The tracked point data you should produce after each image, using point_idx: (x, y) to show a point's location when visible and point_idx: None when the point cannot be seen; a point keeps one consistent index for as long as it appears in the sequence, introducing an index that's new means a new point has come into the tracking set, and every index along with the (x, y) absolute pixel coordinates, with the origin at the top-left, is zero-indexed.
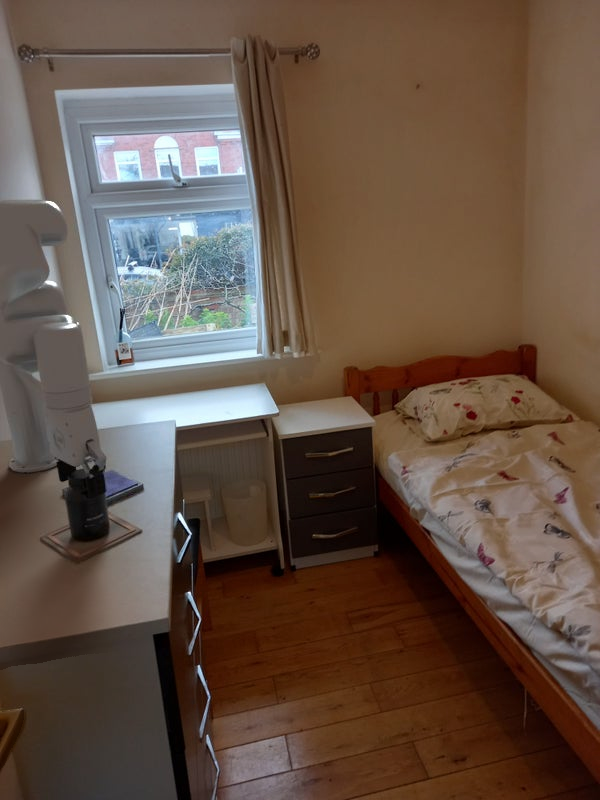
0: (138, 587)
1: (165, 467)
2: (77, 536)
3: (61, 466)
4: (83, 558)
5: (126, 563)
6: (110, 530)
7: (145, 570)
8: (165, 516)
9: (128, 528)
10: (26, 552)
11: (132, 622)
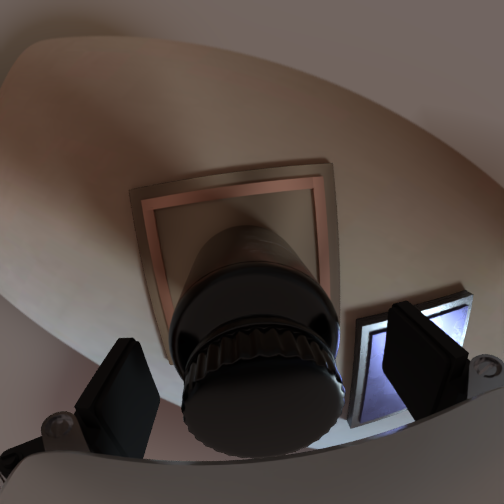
0: (6, 257)
1: None
2: (220, 233)
3: (431, 358)
4: (134, 210)
5: (71, 278)
6: None
7: (37, 292)
8: None
9: None
10: (289, 111)
11: None
